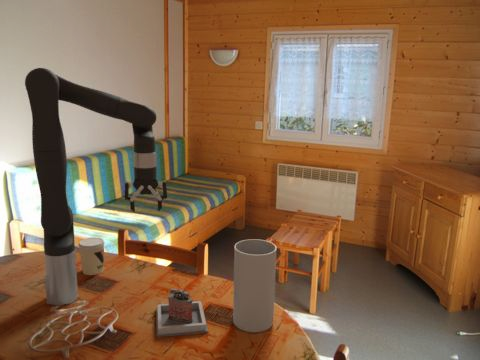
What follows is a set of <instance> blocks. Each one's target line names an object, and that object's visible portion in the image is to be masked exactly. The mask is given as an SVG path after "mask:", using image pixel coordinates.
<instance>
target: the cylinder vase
mask: <svg viewBox="0 0 480 360" xmlns="http://www.w3.org/2000/svg"><path fill="white" fill-rule="evenodd" d="M233 248H234V254H233V256H234V257H233V296H232V297H233V302H232V304H233V305H232V306H233V308H232V321H233V325H234V326H235V327H236V328H237V329H239V330H241V331H244V332H247V333H261V332H262V333H263V332H265V331H267V330H269V329H270V328H271V327H272V325H273V323H274V314H275V313H274V312H275V296H276V295H275V291H276V290H275V289H276V272H277V271H276V269H277V268H276V266H277V246H276V244H274V243H273V242H272V241H268V240H265V239H257V238H256V239H255V238H254V239H252V238H250V239H243V240H239V241H238V242H236V243H235V244H234V247H233Z"/></svg>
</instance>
